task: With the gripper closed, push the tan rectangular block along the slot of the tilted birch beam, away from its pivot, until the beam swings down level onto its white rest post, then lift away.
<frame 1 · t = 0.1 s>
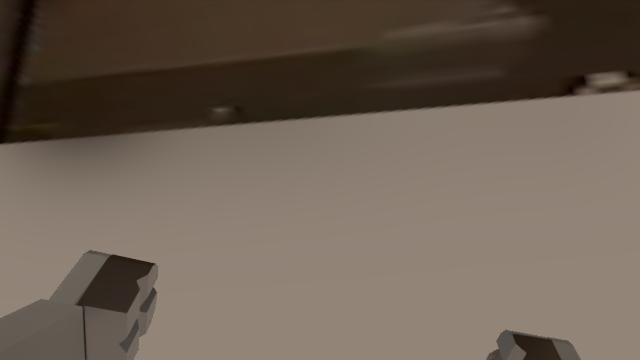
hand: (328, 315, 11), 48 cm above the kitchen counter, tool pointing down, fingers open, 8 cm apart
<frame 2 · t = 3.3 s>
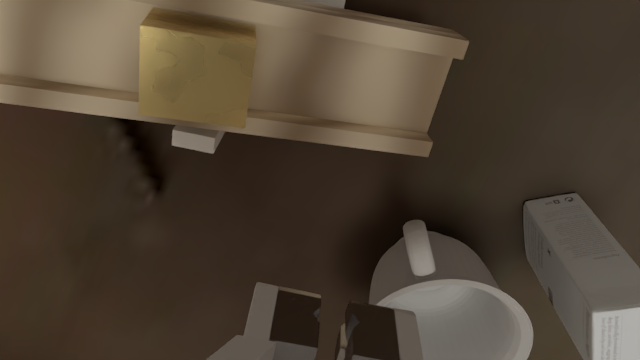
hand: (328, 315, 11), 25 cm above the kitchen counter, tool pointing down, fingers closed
beam: (204, 50, 26), point 7 cm above the kitchen counter, hinge at -10.4°
skincare box: (550, 225, 40), on the kitchen counter
tan rectangular block: (202, 57, 25), point 9 cm above the kitchen counter, tilted 10°
teacup: (419, 242, 41), on the kitchen counter
pivot stand: (234, 22, 33), on the kitchen counter
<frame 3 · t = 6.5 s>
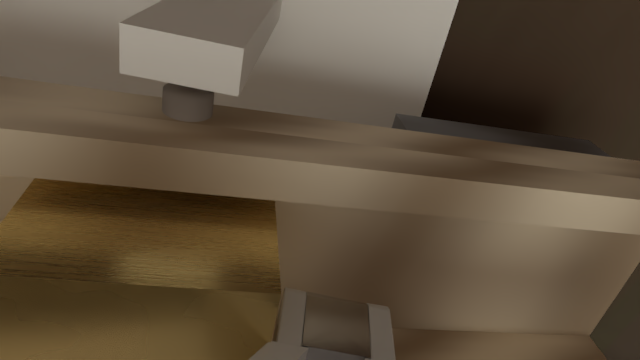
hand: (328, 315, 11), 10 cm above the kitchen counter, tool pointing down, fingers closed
beam: (182, 220, 13), point 7 cm above the kitchen counter, hinge at -9.5°, touching tan rectangular block
tan rectangular block: (161, 248, 12), point 9 cm above the kitchen counter, tilted 9°, touching beam, gripper
pivot stand: (236, 117, 20), on the kitchen counter
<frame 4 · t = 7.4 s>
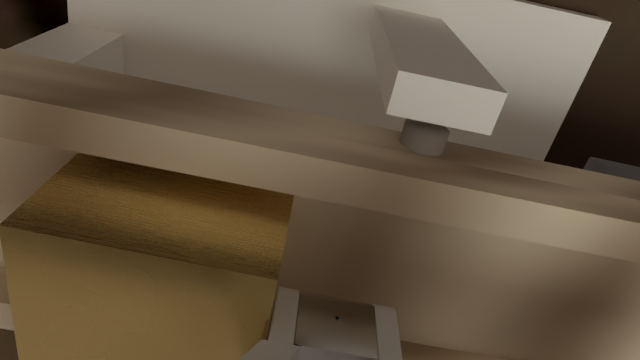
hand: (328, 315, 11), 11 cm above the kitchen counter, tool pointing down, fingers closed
beam: (382, 242, 14), point 7 cm above the kitchen counter, hinge at 0.5°, touching pivot stand, tan rectangular block
tan rectangular block: (188, 231, 13), point 9 cm above the kitchen counter, touching beam, gripper
pivot stand: (369, 136, 20), on the kitchen counter
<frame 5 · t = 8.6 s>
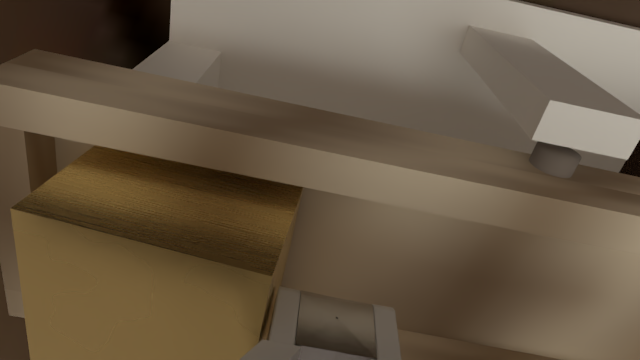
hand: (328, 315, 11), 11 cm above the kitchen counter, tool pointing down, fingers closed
beam: (492, 256, 15), point 7 cm above the kitchen counter, hinge at 0.5°, touching pivot stand, tan rectangular block
tan rectangular block: (199, 227, 13), point 9 cm above the kitchen counter, tilted 6°, touching beam, gripper
pivot stand: (446, 149, 21), on the kitchen counter
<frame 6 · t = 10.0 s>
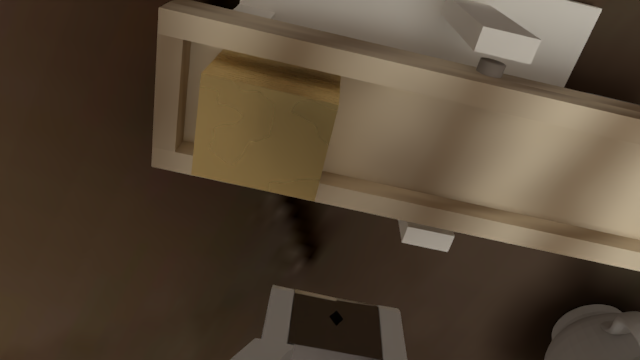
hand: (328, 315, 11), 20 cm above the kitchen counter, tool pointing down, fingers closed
beam: (457, 140, 23), point 7 cm above the kitchen counter, hinge at 0.5°, touching pivot stand, tan rectangular block
tan rectangular block: (274, 108, 21), point 9 cm above the kitchen counter, touching beam
teacup: (587, 315, 38), on the kitchen counter
pivot stand: (432, 89, 29), on the kitchen counter
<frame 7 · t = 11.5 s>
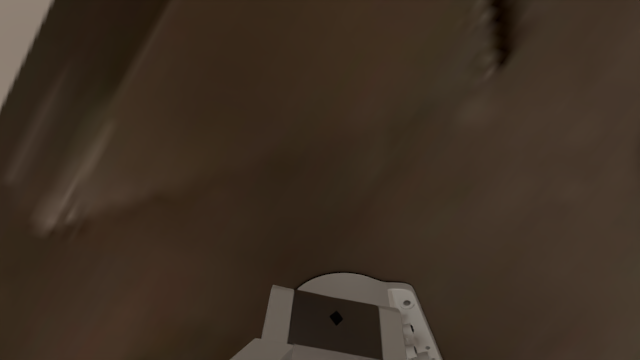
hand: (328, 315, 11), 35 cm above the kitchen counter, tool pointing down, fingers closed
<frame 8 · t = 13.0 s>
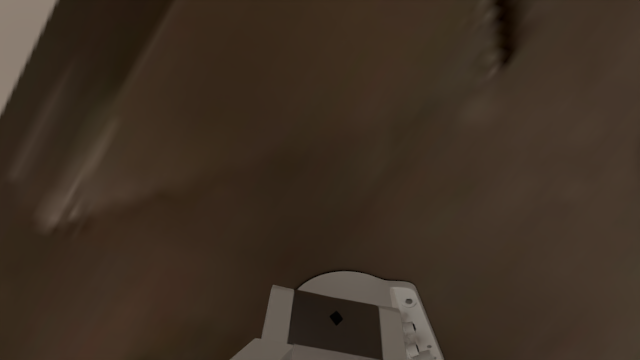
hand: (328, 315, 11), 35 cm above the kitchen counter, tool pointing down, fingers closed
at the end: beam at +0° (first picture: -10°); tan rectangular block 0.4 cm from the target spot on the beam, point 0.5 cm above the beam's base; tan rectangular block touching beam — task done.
